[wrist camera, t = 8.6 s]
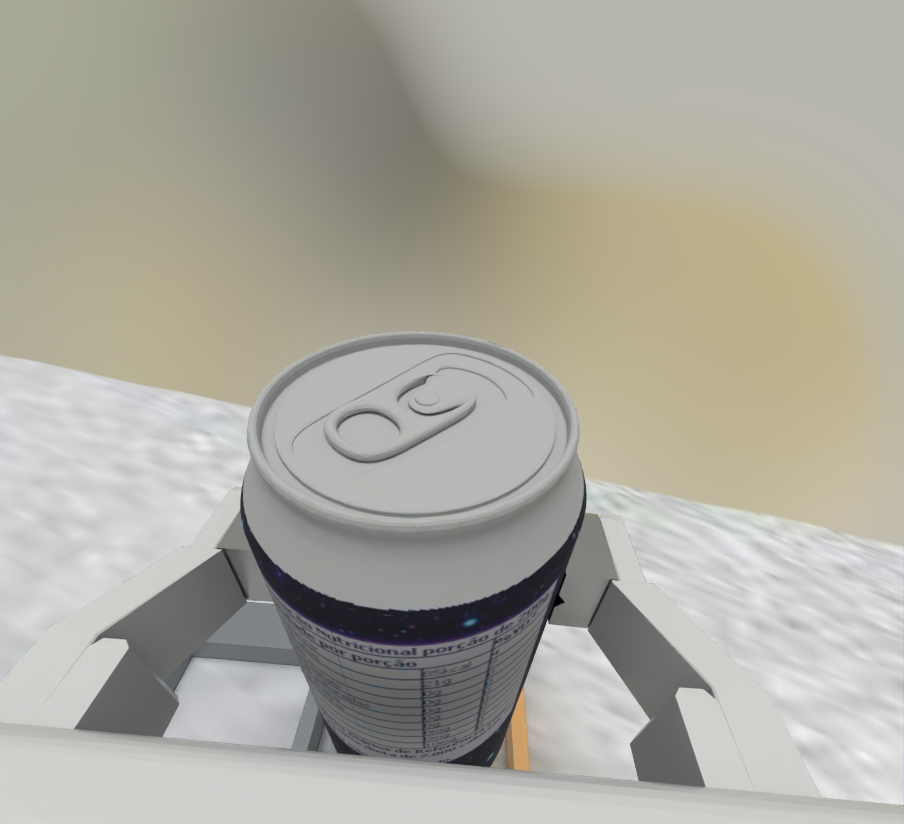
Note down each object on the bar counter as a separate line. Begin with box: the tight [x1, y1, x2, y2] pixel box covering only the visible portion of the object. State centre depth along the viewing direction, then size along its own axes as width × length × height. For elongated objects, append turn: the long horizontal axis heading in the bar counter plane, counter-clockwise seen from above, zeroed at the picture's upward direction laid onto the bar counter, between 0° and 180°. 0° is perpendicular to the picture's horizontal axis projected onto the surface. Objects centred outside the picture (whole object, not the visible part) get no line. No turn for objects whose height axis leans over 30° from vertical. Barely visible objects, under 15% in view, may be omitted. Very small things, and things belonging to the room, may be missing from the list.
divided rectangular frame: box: [163, 602, 530, 771], centre depth 19 cm, size 19×11×2 cm, turn 87°
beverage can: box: [240, 331, 587, 767], centre depth 10 cm, size 6×6×12 cm
